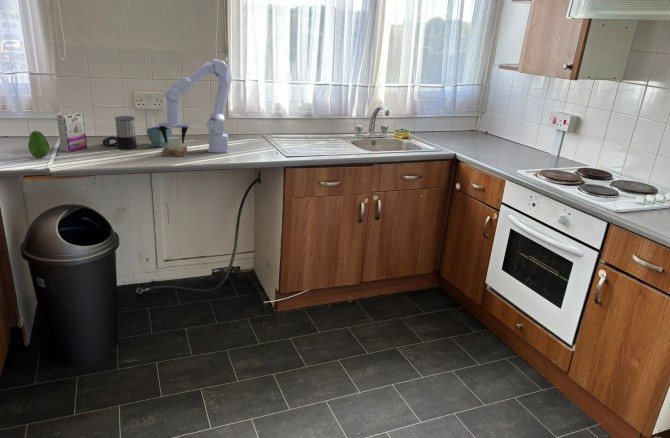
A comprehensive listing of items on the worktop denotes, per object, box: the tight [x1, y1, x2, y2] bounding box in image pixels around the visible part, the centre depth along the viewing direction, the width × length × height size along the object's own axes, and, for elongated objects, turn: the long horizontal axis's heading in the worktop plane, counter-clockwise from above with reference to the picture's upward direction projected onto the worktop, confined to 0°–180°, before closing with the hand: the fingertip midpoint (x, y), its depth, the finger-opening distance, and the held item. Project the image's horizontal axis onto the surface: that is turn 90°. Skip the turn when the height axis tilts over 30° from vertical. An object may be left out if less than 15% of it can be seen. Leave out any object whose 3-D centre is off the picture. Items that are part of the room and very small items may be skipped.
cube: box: [168, 136, 182, 150], centre depth 241 cm, size 5×5×5 cm
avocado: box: [27, 130, 50, 159], centre depth 219 cm, size 8×8×12 cm
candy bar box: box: [56, 112, 88, 153], centre depth 235 cm, size 11×5×16 cm, turn 161°
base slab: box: [162, 145, 188, 158], centre depth 243 cm, size 10×10×2 cm
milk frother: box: [101, 115, 138, 151], centre depth 245 cm, size 14×16×15 cm
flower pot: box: [146, 125, 173, 148], centre depth 253 cm, size 9×9×9 cm
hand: (174, 142), depth 241 cm, fingers open, 7 cm apart
